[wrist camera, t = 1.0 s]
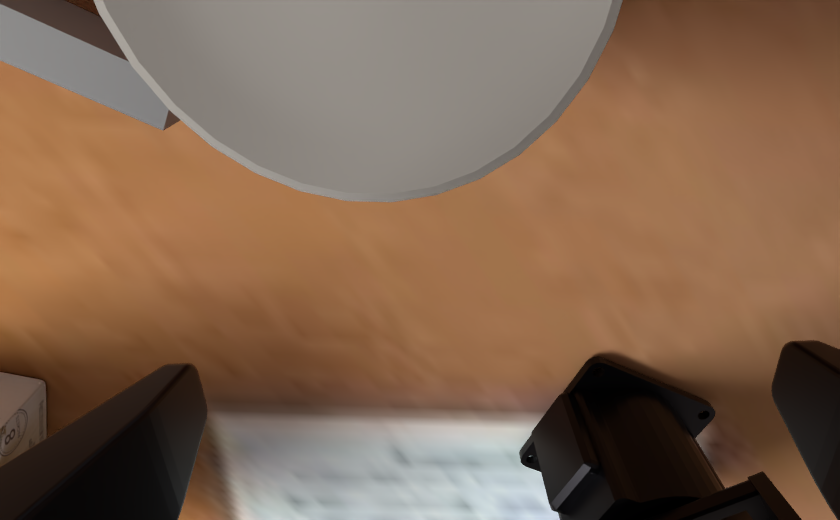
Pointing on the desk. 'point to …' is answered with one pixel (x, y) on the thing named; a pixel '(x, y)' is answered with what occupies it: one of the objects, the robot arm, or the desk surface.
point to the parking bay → (77, 57)
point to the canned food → (365, 83)
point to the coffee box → (21, 414)
